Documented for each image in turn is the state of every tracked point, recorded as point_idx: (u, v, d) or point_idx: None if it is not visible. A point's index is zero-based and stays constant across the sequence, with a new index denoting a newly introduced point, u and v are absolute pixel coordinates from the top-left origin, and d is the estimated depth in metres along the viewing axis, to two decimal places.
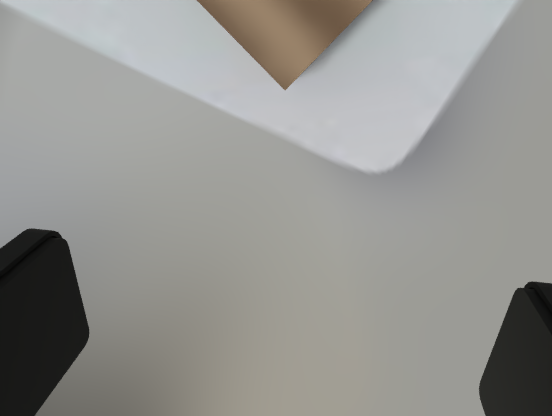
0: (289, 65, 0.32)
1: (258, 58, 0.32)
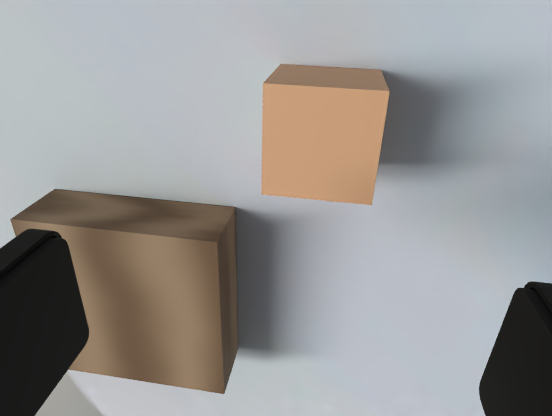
0: (76, 359, 0.28)
1: None
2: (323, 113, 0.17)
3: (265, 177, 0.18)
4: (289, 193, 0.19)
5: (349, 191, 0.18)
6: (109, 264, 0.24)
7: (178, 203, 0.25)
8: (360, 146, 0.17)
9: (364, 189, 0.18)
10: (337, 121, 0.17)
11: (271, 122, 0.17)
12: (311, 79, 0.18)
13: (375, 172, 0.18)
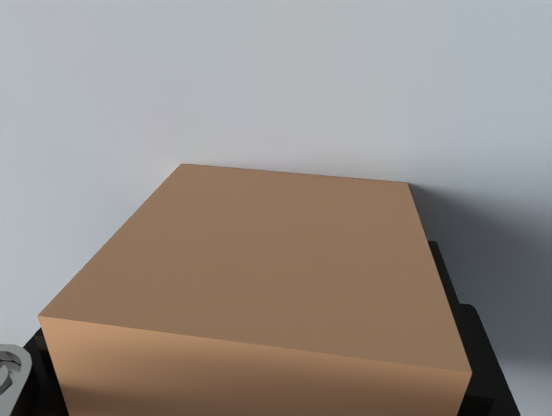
0: None
1: None
2: (242, 404, 0.05)
3: None
4: None
5: None
6: None
7: None
8: None
9: None
10: None
11: (90, 407, 0.06)
12: (218, 263, 0.06)
13: None
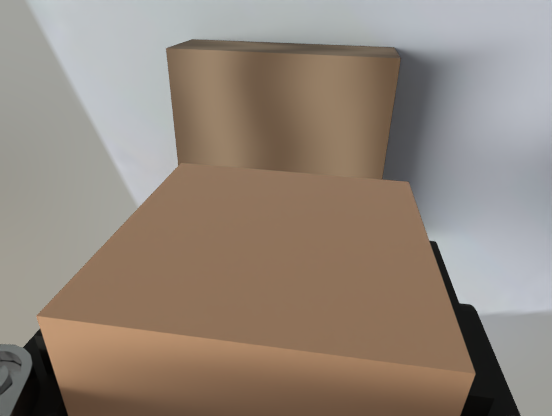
0: None
1: None
2: (242, 404, 0.05)
3: None
4: None
5: None
6: (269, 99, 0.22)
7: (331, 45, 0.24)
8: None
9: None
10: None
11: (89, 407, 0.06)
12: (219, 263, 0.06)
13: None
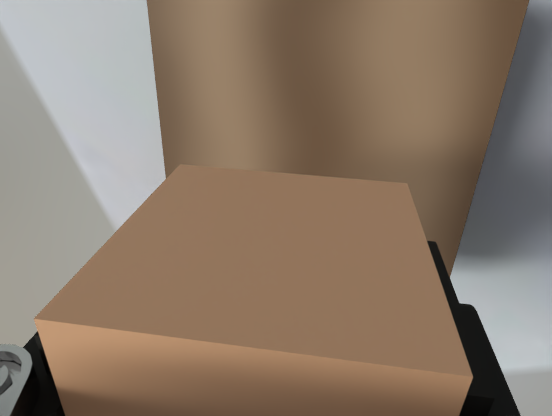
0: None
1: None
2: (240, 407, 0.05)
3: None
4: None
5: None
6: (307, 65, 0.14)
7: None
8: None
9: None
10: None
11: (87, 410, 0.06)
12: (217, 265, 0.06)
13: None
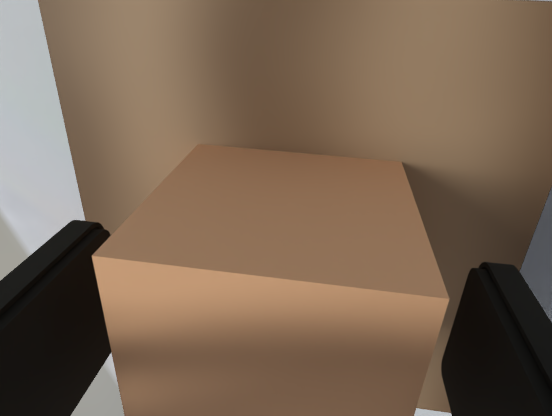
0: None
1: None
2: (259, 332, 0.06)
3: None
4: None
5: None
6: (277, 107, 0.10)
7: None
8: (360, 406, 0.07)
9: None
10: (298, 352, 0.06)
11: (129, 340, 0.07)
12: (238, 221, 0.07)
13: None
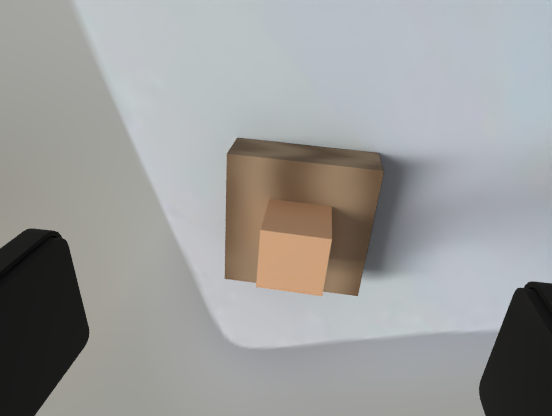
0: (242, 271, 0.37)
1: (228, 249, 0.36)
2: (294, 247, 0.29)
3: (258, 277, 0.31)
4: (273, 287, 0.31)
5: (309, 288, 0.30)
6: (295, 189, 0.32)
7: (335, 149, 0.34)
8: (315, 265, 0.29)
9: (317, 287, 0.30)
10: (302, 251, 0.29)
11: (263, 249, 0.29)
12: (288, 223, 0.30)
13: (324, 279, 0.30)
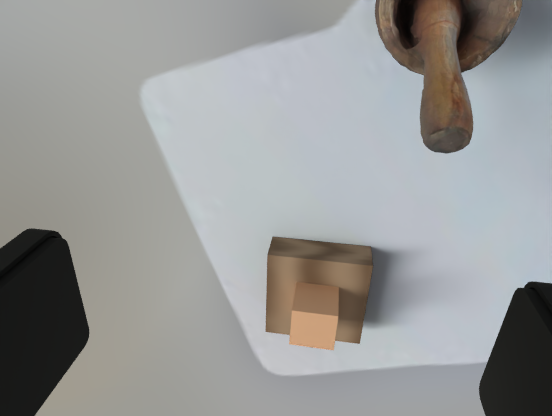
0: (278, 326, 0.52)
1: (268, 313, 0.52)
2: (314, 320, 0.45)
3: (291, 338, 0.46)
4: (300, 344, 0.46)
5: (324, 345, 0.46)
6: (313, 276, 0.48)
7: (341, 244, 0.50)
8: (328, 331, 0.45)
9: (330, 345, 0.46)
10: (319, 323, 0.45)
11: (294, 322, 0.45)
12: (309, 303, 0.45)
13: (334, 339, 0.45)
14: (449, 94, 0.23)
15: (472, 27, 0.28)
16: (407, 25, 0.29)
